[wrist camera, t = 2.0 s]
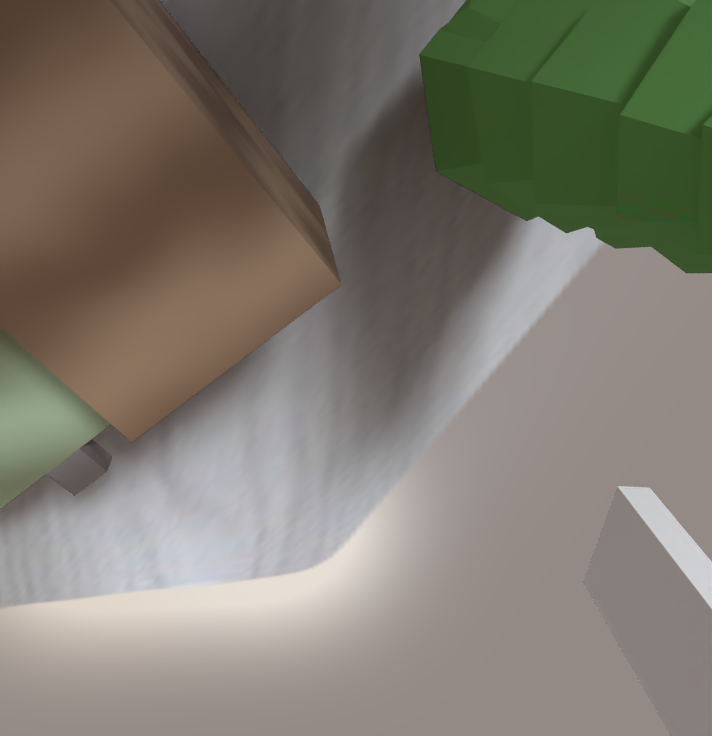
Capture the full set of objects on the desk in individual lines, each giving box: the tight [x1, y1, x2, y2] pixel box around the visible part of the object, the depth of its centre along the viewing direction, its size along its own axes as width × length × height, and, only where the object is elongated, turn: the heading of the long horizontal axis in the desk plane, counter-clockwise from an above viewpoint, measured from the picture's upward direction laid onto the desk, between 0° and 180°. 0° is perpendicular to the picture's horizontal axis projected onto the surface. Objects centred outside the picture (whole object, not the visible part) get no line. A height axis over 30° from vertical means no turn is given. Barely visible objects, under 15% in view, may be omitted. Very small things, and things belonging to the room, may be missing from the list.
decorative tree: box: [419, 0, 712, 273], centre depth 19 cm, size 10×9×30 cm
